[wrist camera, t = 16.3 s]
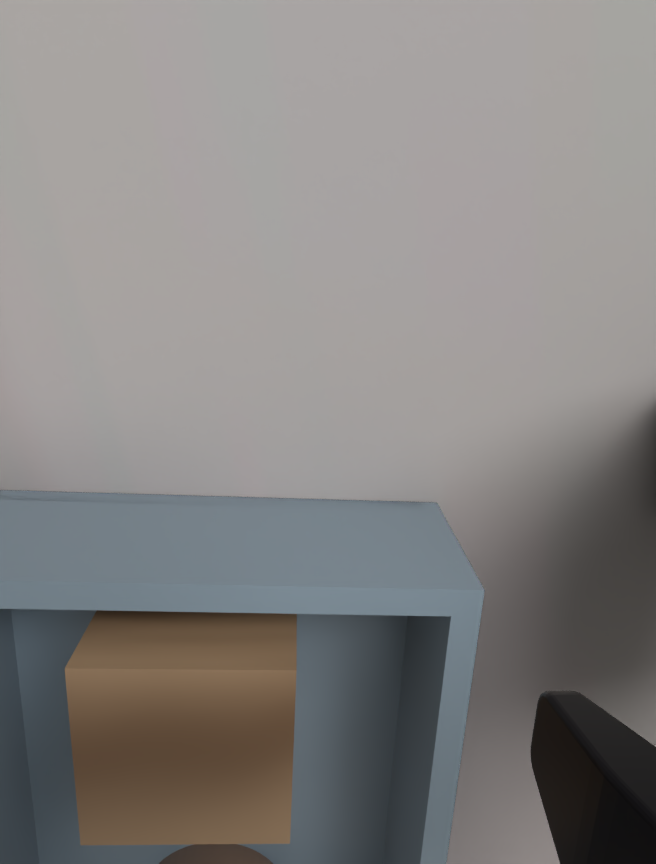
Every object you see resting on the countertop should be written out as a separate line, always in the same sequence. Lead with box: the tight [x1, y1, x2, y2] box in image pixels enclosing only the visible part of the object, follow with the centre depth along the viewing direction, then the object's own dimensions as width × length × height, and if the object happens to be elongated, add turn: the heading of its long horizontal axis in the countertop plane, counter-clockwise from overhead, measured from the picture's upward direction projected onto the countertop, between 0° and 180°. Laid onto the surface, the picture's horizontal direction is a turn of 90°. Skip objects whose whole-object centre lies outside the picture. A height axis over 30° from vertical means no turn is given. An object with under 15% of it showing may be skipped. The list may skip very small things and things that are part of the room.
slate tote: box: [0, 490, 485, 864], centre depth 19 cm, size 13×19×5 cm
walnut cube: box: [65, 610, 297, 845], centre depth 16 cm, size 5×5×5 cm
